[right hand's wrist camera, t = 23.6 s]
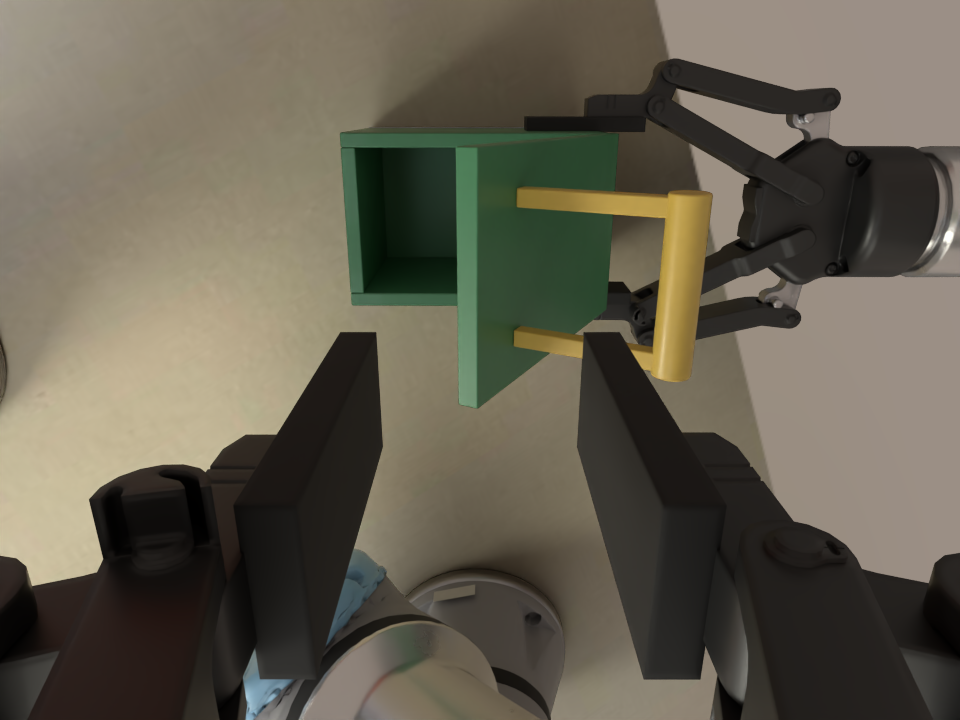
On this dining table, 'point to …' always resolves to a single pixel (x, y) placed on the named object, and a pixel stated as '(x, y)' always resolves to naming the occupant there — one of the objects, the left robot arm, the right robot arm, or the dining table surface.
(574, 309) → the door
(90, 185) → the dining table surface
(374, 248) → the chest
